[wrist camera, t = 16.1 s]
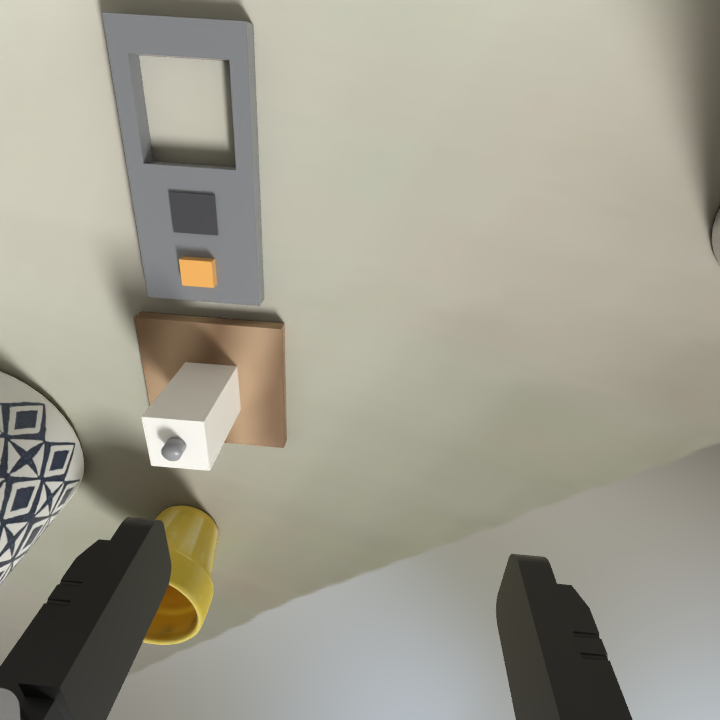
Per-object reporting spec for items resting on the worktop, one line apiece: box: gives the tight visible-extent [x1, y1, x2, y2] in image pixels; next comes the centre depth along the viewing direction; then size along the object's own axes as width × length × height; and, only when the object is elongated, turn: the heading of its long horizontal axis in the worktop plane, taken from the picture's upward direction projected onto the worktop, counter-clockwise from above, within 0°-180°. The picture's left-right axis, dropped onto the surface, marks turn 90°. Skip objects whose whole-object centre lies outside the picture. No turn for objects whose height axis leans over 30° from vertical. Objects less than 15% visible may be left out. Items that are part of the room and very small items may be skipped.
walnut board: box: [134, 312, 287, 448], centre depth 42 cm, size 12×12×1 cm
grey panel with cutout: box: [102, 12, 264, 306], centre depth 33 cm, size 9×18×2 cm, turn 177°
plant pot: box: [143, 505, 218, 645], centre depth 47 cm, size 10×10×10 cm
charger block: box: [142, 362, 241, 471], centre depth 37 cm, size 4×4×9 cm
